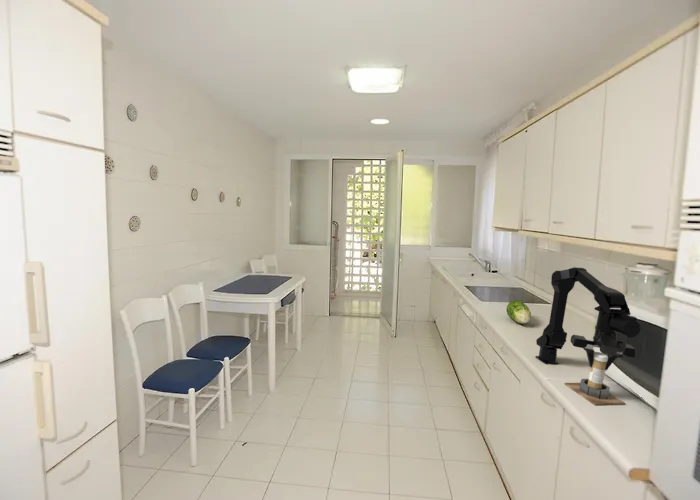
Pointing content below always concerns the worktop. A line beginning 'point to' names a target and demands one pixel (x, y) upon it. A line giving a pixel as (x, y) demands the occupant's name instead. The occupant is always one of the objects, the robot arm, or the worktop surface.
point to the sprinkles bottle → (597, 370)
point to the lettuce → (518, 311)
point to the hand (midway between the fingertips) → (597, 368)
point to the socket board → (610, 401)
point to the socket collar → (594, 390)
